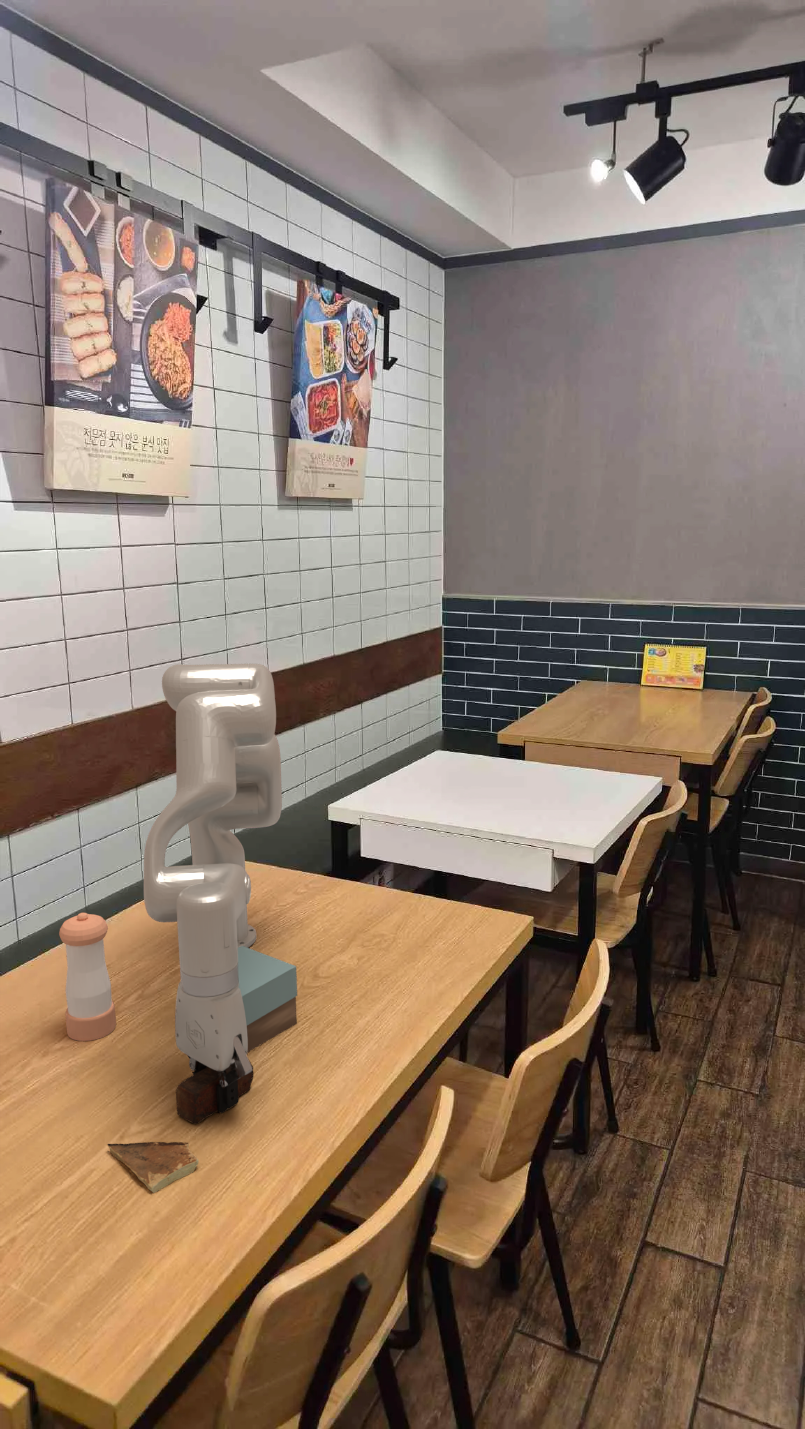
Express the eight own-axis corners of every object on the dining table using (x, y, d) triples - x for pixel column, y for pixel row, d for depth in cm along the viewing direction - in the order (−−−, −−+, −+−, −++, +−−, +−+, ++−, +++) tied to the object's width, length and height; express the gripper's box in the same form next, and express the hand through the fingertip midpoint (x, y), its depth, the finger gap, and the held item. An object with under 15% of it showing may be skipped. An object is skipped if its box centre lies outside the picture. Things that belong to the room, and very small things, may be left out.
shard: (107, 1154, 117) (106, 1141, 116) (162, 1127, 122) (161, 1115, 122) (150, 1198, 109) (149, 1185, 109) (206, 1167, 114) (206, 1155, 114)
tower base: (186, 1032, 144) (185, 1002, 143) (245, 1001, 153) (244, 973, 152) (238, 1059, 137) (237, 1028, 136) (296, 1025, 146) (295, 996, 145)
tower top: (186, 1004, 143) (184, 974, 142) (243, 973, 152) (242, 945, 151) (240, 1029, 136) (239, 997, 135) (297, 995, 145) (296, 966, 144)
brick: (196, 1127, 121) (195, 1095, 120) (176, 1116, 123) (174, 1084, 122) (254, 1088, 129) (253, 1057, 129) (234, 1078, 132) (233, 1048, 131)
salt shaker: (125, 1020, 147) (117, 907, 143) (96, 1044, 140) (87, 926, 136) (87, 1013, 149) (78, 901, 146) (56, 1036, 143) (46, 920, 139)
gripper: (147, 968, 125) (155, 1090, 129) (229, 1008, 114) (236, 1139, 118) (192, 948, 131) (198, 1065, 134) (274, 985, 120) (279, 1111, 124)
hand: (216, 1099), depth 126 cm, fingers closed on brick, 4 cm apart
